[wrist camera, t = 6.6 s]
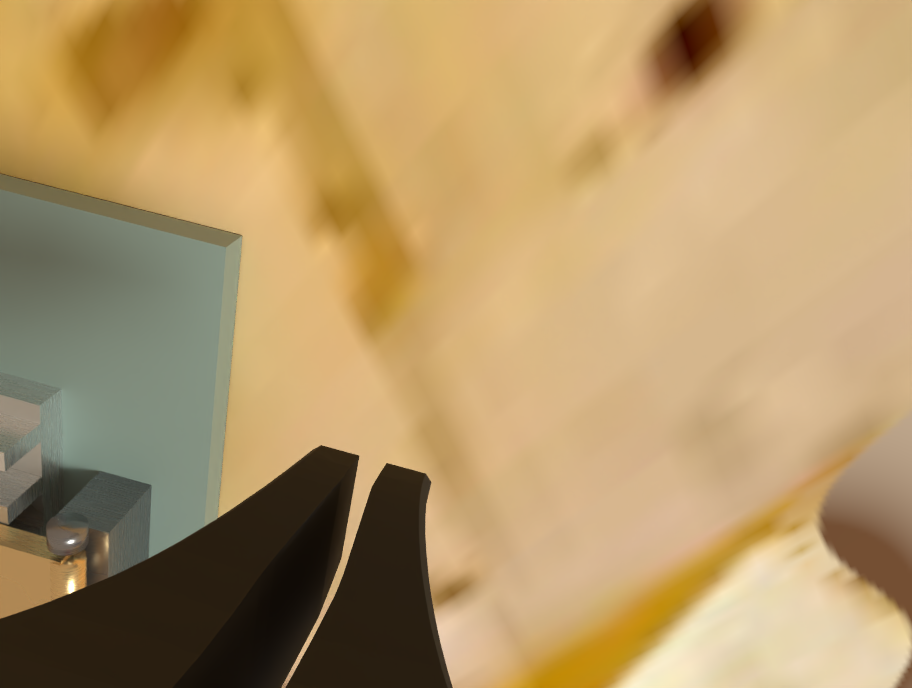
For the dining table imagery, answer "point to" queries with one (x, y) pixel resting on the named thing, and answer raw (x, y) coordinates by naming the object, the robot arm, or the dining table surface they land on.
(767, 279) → the dining table surface
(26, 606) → the strap
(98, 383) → the base board
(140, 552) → the heat sink
